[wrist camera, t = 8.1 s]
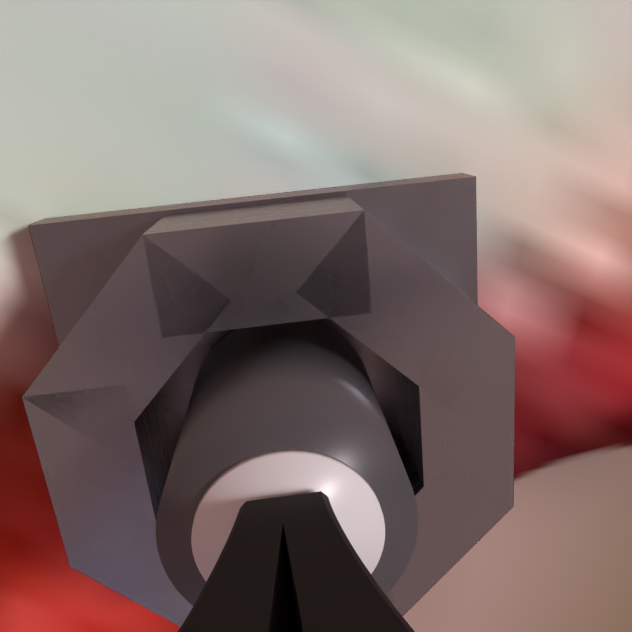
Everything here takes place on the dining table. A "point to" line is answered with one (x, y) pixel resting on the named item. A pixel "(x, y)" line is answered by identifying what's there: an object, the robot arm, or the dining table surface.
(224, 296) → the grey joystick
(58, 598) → the dining table surface
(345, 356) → the cap
